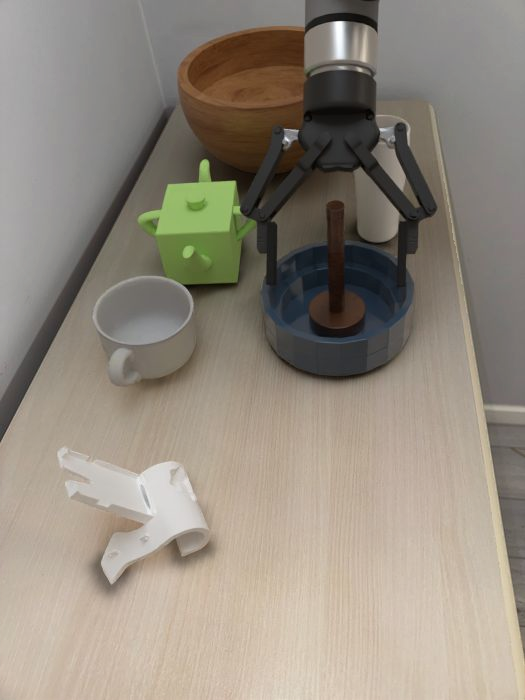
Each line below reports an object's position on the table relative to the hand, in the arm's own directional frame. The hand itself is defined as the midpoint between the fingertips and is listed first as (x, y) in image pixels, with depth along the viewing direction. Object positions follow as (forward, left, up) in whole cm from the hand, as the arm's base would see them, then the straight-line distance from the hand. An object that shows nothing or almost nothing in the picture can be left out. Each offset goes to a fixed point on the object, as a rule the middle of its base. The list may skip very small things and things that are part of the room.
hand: (335, 286), depth 71 cm
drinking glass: (+3, -20, -9) cm, 22 cm away
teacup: (+18, +12, -9) cm, 23 cm away
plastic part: (+6, +29, -9) cm, 31 cm away
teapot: (+21, -6, -9) cm, 23 cm away
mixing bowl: (+1, -2, -8) cm, 9 cm away
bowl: (+24, -31, -9) cm, 40 cm away
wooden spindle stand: (+1, -2, -8) cm, 8 cm away
